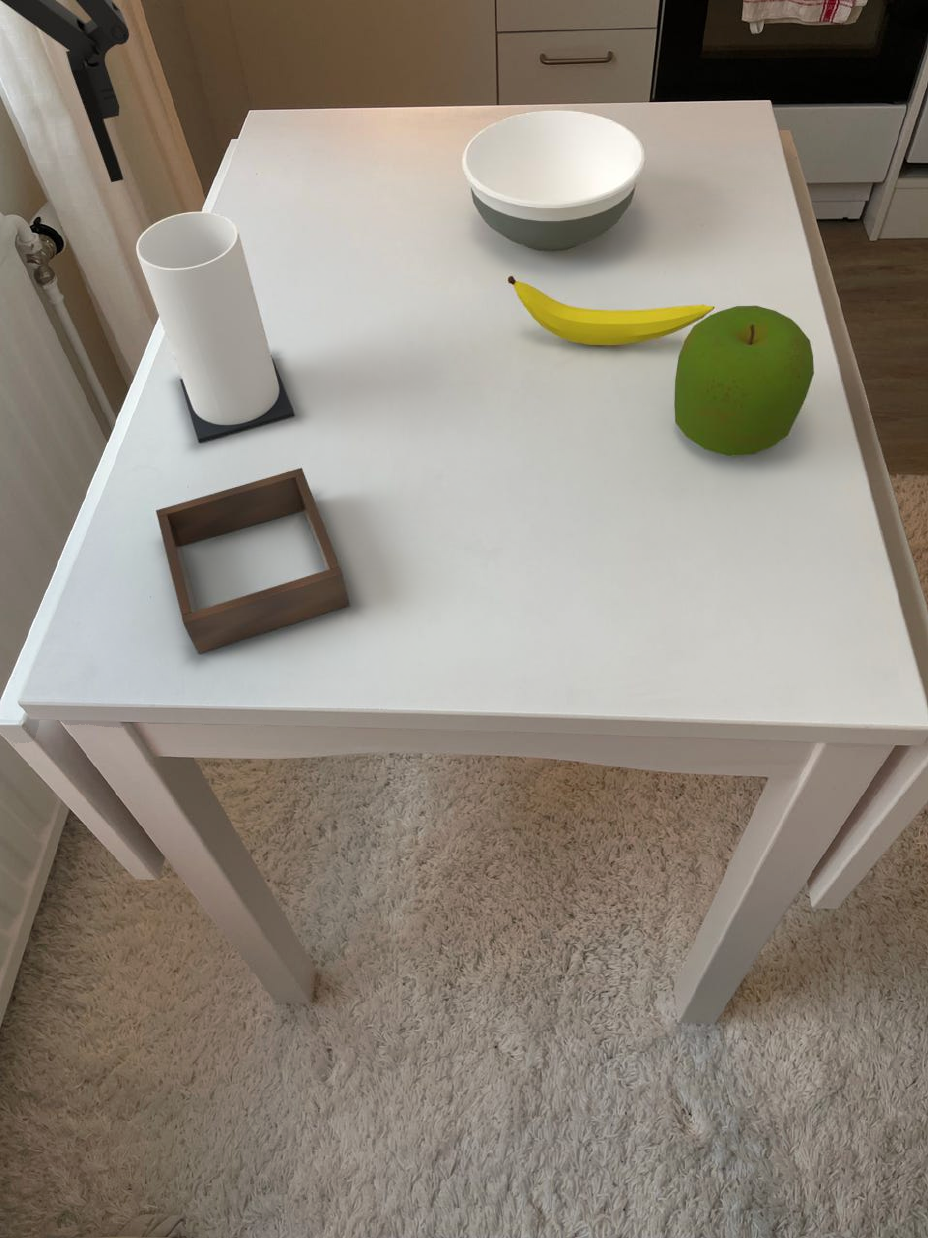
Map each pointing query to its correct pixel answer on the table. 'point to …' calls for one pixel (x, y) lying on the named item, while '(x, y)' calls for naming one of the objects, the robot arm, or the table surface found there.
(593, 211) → the bowl
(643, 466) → the table surface
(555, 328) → the banana
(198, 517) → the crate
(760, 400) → the apple
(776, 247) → the table surface
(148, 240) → the cup
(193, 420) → the pad
